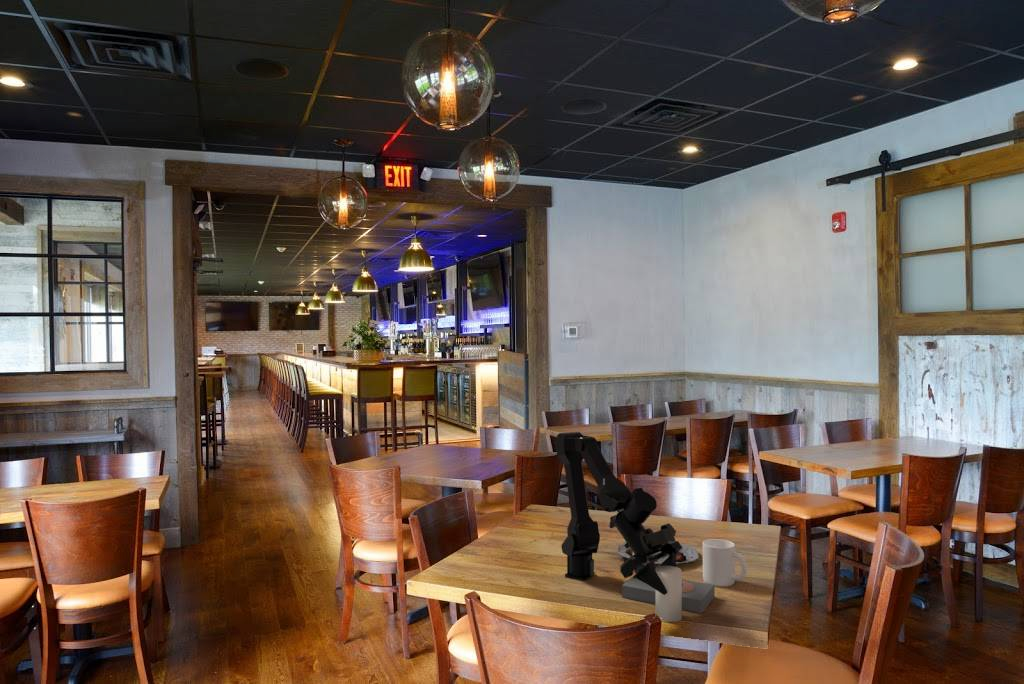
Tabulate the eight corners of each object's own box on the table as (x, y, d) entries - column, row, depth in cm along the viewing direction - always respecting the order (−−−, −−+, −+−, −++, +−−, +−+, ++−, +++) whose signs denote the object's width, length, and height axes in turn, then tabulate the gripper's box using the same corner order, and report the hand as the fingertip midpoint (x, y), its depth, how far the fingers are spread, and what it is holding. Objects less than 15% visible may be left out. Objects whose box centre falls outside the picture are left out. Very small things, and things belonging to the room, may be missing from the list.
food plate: (701, 572, 188) (700, 560, 188) (616, 568, 193) (616, 556, 193) (695, 548, 213) (695, 537, 213) (620, 545, 217) (620, 534, 217)
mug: (754, 585, 178) (753, 546, 178) (739, 593, 173) (739, 553, 173) (712, 574, 187) (712, 537, 187) (697, 581, 181) (696, 543, 181)
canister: (651, 618, 157) (651, 571, 157) (660, 609, 162) (660, 564, 162) (677, 624, 154) (677, 575, 154) (685, 615, 159) (684, 568, 159)
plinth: (622, 597, 170) (621, 584, 170) (638, 582, 181) (638, 570, 181) (701, 613, 160) (701, 599, 160) (714, 596, 170) (714, 584, 170)
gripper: (630, 521, 154) (672, 581, 146) (675, 507, 167) (716, 562, 159) (603, 548, 160) (642, 608, 152) (649, 532, 173) (687, 587, 165)
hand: (673, 590), depth 157 cm, fingers closed on canister, 6 cm apart
